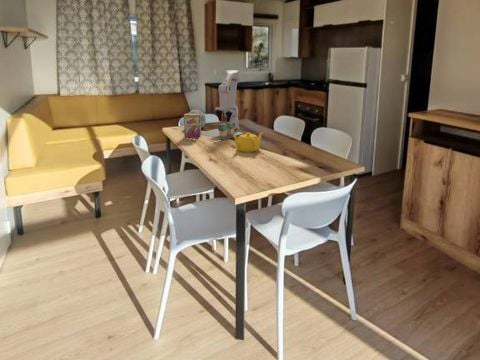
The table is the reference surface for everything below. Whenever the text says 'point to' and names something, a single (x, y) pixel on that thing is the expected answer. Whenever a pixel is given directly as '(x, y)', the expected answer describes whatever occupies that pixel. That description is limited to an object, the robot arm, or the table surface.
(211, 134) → the board
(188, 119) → the candy bar box
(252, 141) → the teapot
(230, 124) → the beam
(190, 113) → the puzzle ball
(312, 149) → the table surface
